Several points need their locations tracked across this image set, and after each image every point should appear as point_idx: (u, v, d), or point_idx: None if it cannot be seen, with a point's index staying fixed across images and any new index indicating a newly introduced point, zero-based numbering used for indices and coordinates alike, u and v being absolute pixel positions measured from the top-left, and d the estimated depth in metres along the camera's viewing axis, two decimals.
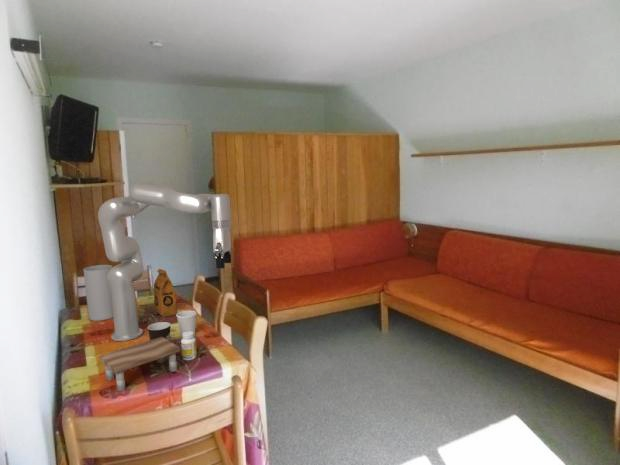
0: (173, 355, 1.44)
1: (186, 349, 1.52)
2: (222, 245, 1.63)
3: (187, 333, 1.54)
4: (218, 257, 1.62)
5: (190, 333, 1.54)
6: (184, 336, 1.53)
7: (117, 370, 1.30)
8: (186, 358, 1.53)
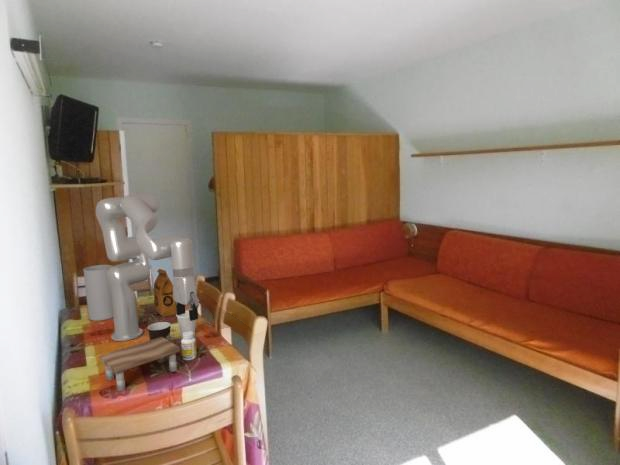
0: (173, 355, 1.44)
1: (187, 349, 1.52)
2: (195, 294, 1.49)
3: (187, 333, 1.54)
4: (195, 308, 1.48)
5: (190, 333, 1.54)
6: (184, 336, 1.53)
7: (117, 370, 1.30)
8: (186, 358, 1.53)
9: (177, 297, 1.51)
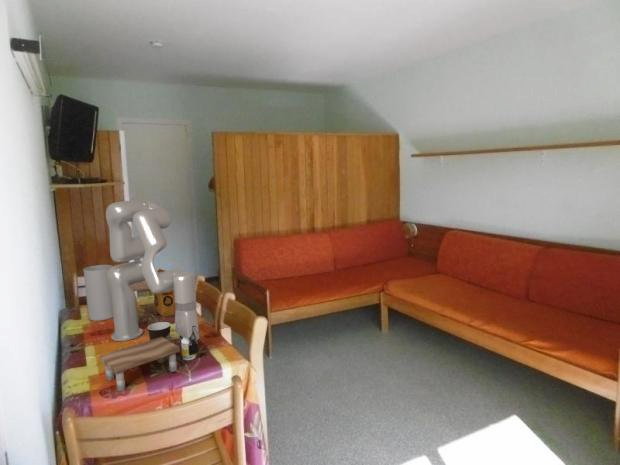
0: (173, 355, 1.44)
1: (187, 349, 1.52)
2: (197, 327, 1.51)
3: None
4: (194, 343, 1.51)
5: None
6: None
7: (117, 370, 1.30)
8: (186, 358, 1.53)
9: (179, 330, 1.53)
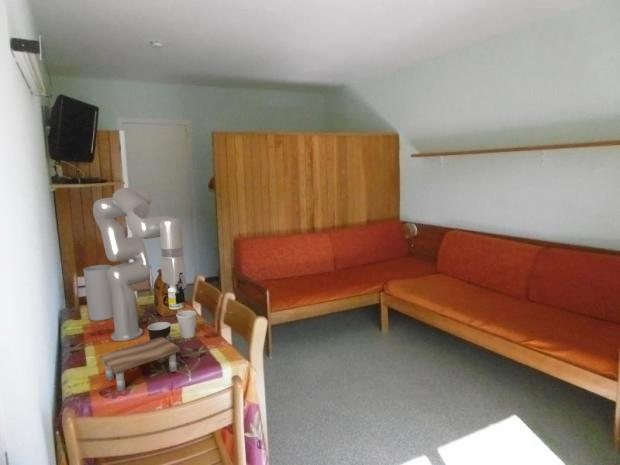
0: (173, 355, 1.44)
1: (173, 297, 1.47)
2: (184, 275, 1.46)
3: None
4: (181, 291, 1.46)
5: None
6: None
7: (117, 370, 1.30)
8: (173, 307, 1.48)
9: (165, 278, 1.47)
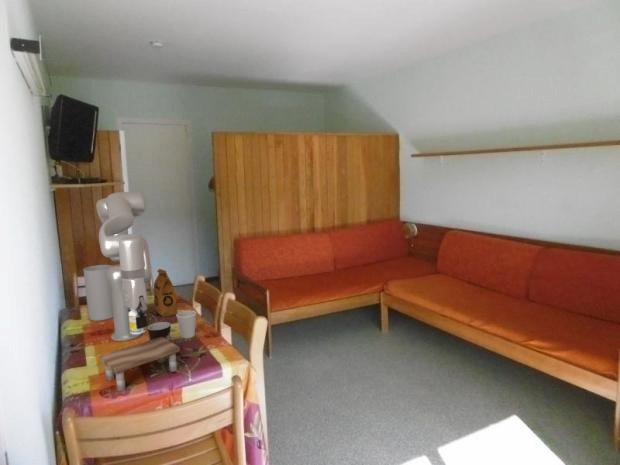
0: (173, 355, 1.44)
1: (134, 322, 1.38)
2: (145, 298, 1.37)
3: None
4: (142, 315, 1.36)
5: None
6: None
7: (117, 370, 1.30)
8: (134, 332, 1.38)
9: (126, 301, 1.38)
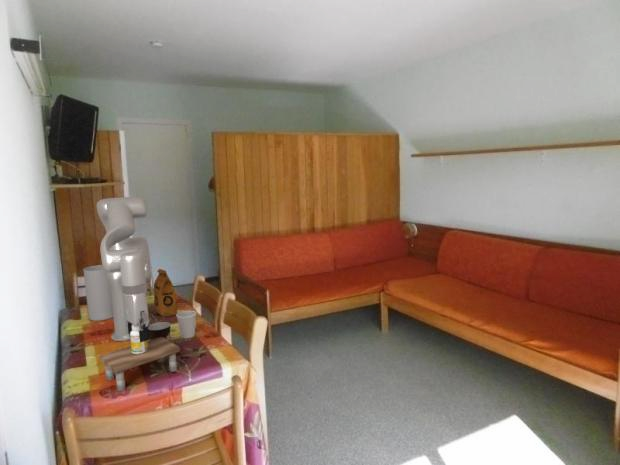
0: (173, 355, 1.44)
1: (136, 342, 1.39)
2: (146, 313, 1.37)
3: (137, 324, 1.41)
4: (145, 328, 1.36)
5: None
6: (133, 327, 1.39)
7: (117, 370, 1.30)
8: (135, 352, 1.40)
9: (127, 316, 1.39)
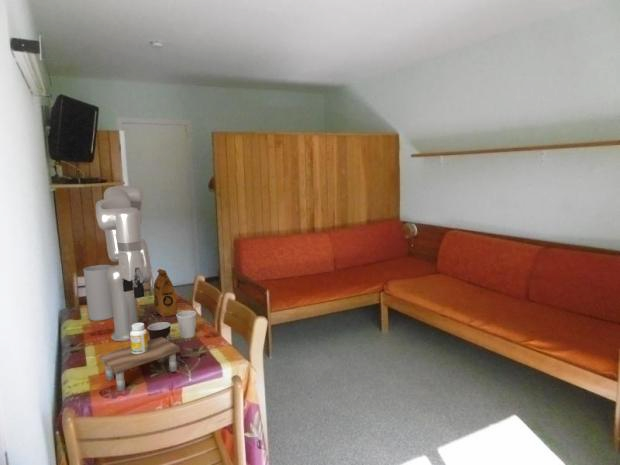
0: (173, 355, 1.44)
1: (135, 342, 1.39)
2: (141, 270, 1.40)
3: (137, 324, 1.41)
4: (140, 285, 1.39)
5: (140, 324, 1.41)
6: (133, 328, 1.39)
7: (117, 370, 1.30)
8: (135, 352, 1.40)
9: (122, 273, 1.41)
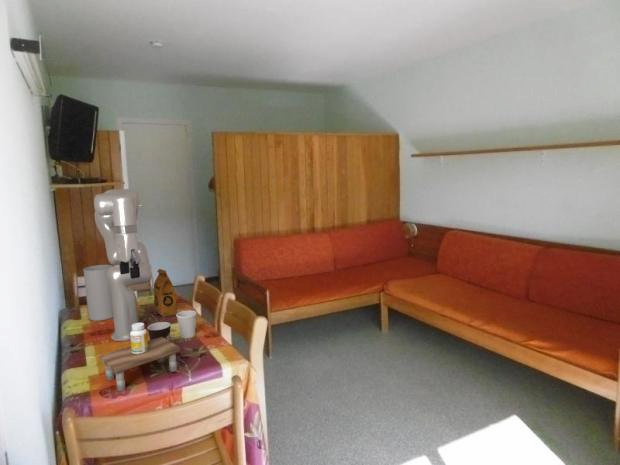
0: (173, 355, 1.44)
1: (135, 342, 1.39)
2: (137, 252, 1.47)
3: (137, 324, 1.41)
4: (135, 265, 1.46)
5: (140, 324, 1.41)
6: (133, 327, 1.39)
7: (117, 370, 1.30)
8: (135, 352, 1.40)
9: (119, 255, 1.49)
